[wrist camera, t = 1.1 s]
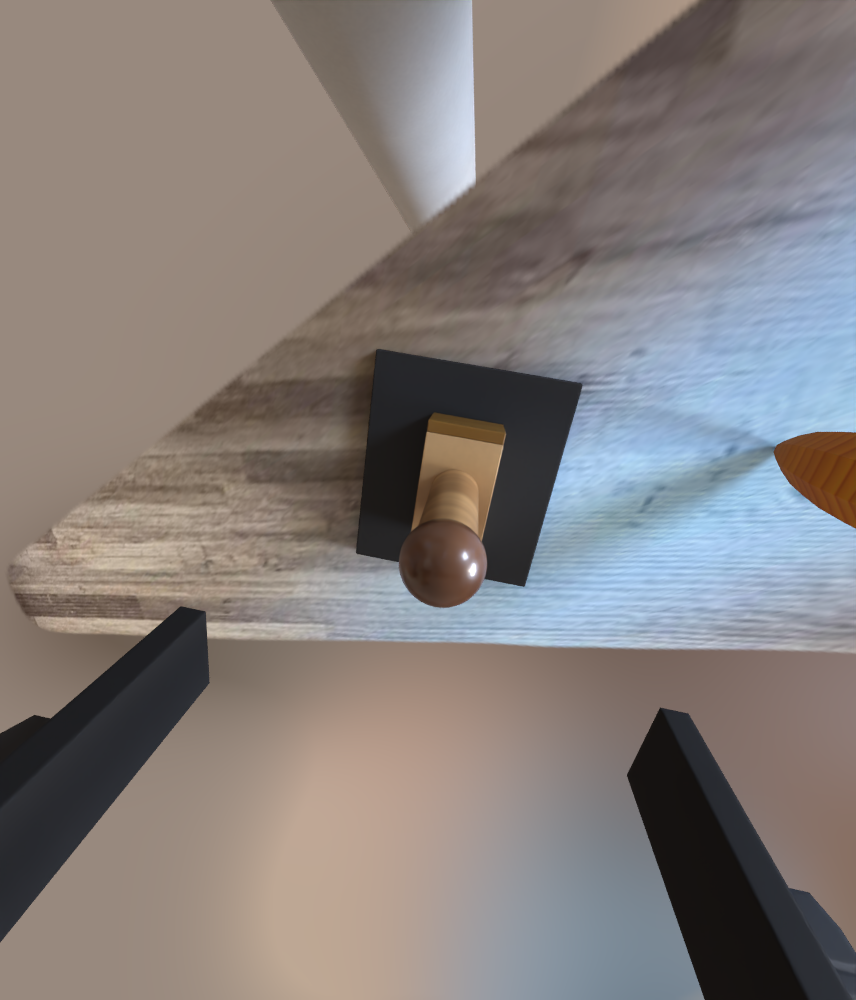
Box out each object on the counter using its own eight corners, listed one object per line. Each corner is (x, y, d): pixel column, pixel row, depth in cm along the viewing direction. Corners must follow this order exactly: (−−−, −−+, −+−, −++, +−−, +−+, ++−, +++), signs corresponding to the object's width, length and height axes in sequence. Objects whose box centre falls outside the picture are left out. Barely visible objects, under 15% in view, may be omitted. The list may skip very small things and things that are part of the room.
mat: (378, 349, 28) (376, 349, 27) (580, 383, 27) (583, 384, 27) (358, 549, 34) (355, 553, 33) (523, 581, 33) (524, 587, 33)
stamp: (433, 412, 29) (392, 471, 15) (503, 424, 28) (526, 496, 15) (415, 526, 32) (368, 658, 18) (478, 538, 32) (477, 681, 18)
